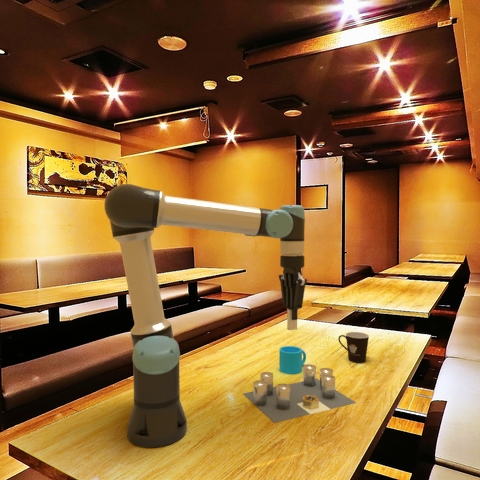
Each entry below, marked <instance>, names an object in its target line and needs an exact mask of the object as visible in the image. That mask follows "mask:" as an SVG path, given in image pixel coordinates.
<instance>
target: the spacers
mask: <svg viewBox="0 0 480 480" xmlns="http://www.w3.org/2000/svg"><path fill="white" fill-rule="evenodd" d="M316 367H317V366H316V365H315V364H311V363H310V364H309V363H306V364H303V366H302V372H303V375H302V377H303V384H304V385H305V386H307V387H313V386H315V385H316V379H317V375H316V374H317V373H316V371H317V369H316ZM259 378H260V379H259V380H255V381H253V384H252V387H253V391H252V392H253V403H254V404H253V403H252V404H253V405H254V406H255V405H257V406H264V405H266V404H267V396H271V395H273V387H274V373H272V372H271V371H270V372H269V371H263V372H261V373H260V377H259ZM319 380H320V389H321V390H322V397H323V398H325V399H334V398H335V390H336V376H334V373H333V369H332V368H329V367H321V368H320V369H319ZM275 387H276V407H277V408H278V409H280V410H287V409H289V408H290V385H288V384H287V383H277V385H276V386H275Z"/></svg>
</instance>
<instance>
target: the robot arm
mask: <svg viewBox="0 0 480 480" xmlns="http://www.w3.org/2000/svg"><path fill="white" fill-rule="evenodd" d="M104 213H105V215H106V217H107V218H108V220H109V224H110V228H111V234H112V238H113V239H114V240H115V241H117V242H118V243H119V246H120V252H121V253H120V254H121V257H122V262H123V263H122V264H123V268H124V274H125V279H126V285H127V290H128V294H129V295H128V296H129V301H130V306H131V312H132V317H133V321H134V322H133V323H134V325H133V327H132V328H131V329H130V337H131V338H130V339H131V343H132V349H133V350H132V355H131V357H132V359H131V360H132V363H133V364H132V366H133V367H132V370H133V377H132V379H133V381H132V382H133V406H132V409H131V413H130V416H129V420H128V422H127V426H126V435H127V439H128V441H129V442H130V443H131V444H132V445H135V446H138V447H142V448H159V447H164V446H169V445H173V444H174V443H175V442H177V441H180V440H181V439H182V438H183V437H184V436H185V435H186V433H187V430H188V429H187V428H188V424H187V423H188V420H187V417H186V414H185V411H184V408H183V405H182V403H181V402H182V401H181V397H180V396H181V394H180V392H181V389H180V385H181V384H180V383H181V381H180V358H181V352H180V351H181V350H180V346H179V343H178V341H177V340H175V338H174V333H173V328H172V327H173V326H172V322H171V321H170V320H168V319H167V318H165V313H164V308H163V307H164V306H163V302H162V296H161V291H160V285H159V280H158V275H157V267H156V262H155V261H156V260H155V257H154V250H153V246H152V240H151V239H152V238H151V237H152V235H153V234H154V233H155V229H158V228H160V227H161V226H170V227H179V228H187V229H195V230H196V229H197V230H206V231H207V230H208V231H215V232H223V233H224V232H225V233H230V234H231V233H233V234H240V235H241V234H242V235H244V236H246V237H265V238H273V239H279V240H280V241H279V242H280V244H279V245H280V246H279V248H280V249H279V253H280V254H281V255H280V257H279V260H280V261H279V263H280V265H279V266H280V267H281V268H283V271H282V274H278V279H279V282H280V291H281V299H282V305H283V306H285V308H286V318H287V320H286V322H287V324H286V325H287V326H286V327H287V328H286V329H287V330H289V331H295V330H298V311H299V309H302V308H303V303H304V297H305V289H306V286H307V283H308V279H307V278H304V277H303V272H302V268H304V267H305V256H304V254H305V226H306V225H305V222H306V218H305V217H306V216H305V207H303V206H302V205H299V204H286V205H281V206H280V209H270V208H261V207H254V206H247V205H240V204H232V203H224V202H217V201H208V200H203V199H195V198H187V197H180V196H172V195H166V194H165V193H164V192H163V191H162V190H159V189H158V190H155V189H150V188H147V187H142V186H139V185H135V184H131V183H130V184H129V183H124V184H120V185H116V186H114V188H112V189H110V191H109V192H108V193H107V195H106V197H105V200H104Z"/></svg>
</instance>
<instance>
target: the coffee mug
mask: <svg viewBox="0 0 480 480" xmlns="http://www.w3.org/2000/svg"><path fill="white" fill-rule="evenodd" d="M342 337H343V338H345V340H346V346H347V347H346V346H345V345H344V344H343V343H342V341H341V338H342ZM369 337H370V335H369V334H367V333H365V332H359V331H357V332H356V331H351V332H345V335H344V334H342V335H339V336H338V338H337V340H338V342H339V344H340V345H341V347H342V348H344V349H345V350H346V351H347V356H348V357H347V358H348V361H349V362H350V363H355V364H364V363H366V360H367V353H368V352H367V351H368V346H369V345H368V344H369Z"/></svg>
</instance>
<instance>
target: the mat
mask: <svg viewBox="0 0 480 480" xmlns="http://www.w3.org/2000/svg"><path fill="white" fill-rule="evenodd" d="M288 385H290V408H289V409H287V410H280V409H278V408H277V407H276V386H273V395H271V396H267V404H266V405H264V406H257V405H254V403H253V391H248V392H244V393H242V395H243V396H244V397H245V398H247V399H248V400H249V401H250V403H252V404H253V405H254V406H255V407H256V408H257V409H258V410H259V411H261V412H262V414H264V416H266V418H268V419H269V420H270V421H271V422H272V423H274V424H278V423H280V422H283V421H284V422H285V421H289V420H293V419H297V418H301V417H305V416H309V415H313V414H316V413H317V414H318V413H321V412H325V411H329V410H333V409H338V408H341V407H345V406H349V405H355V404H357V401H355V400H353V399H351V398H350V397H348V396H347V395H345V394H343V393H342V392H340V391H338V390H337V389H335V398H334V399H325V398H323V397H322V390H321V389H320V379H318V378H316V385H315V386H313V387H307V386H305V385H304V384H303V381H299V382H293V383H289V384H288ZM307 395H312V396H316V397H318V400H319V408H315V409H308V408H305V407H303V396H307Z"/></svg>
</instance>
